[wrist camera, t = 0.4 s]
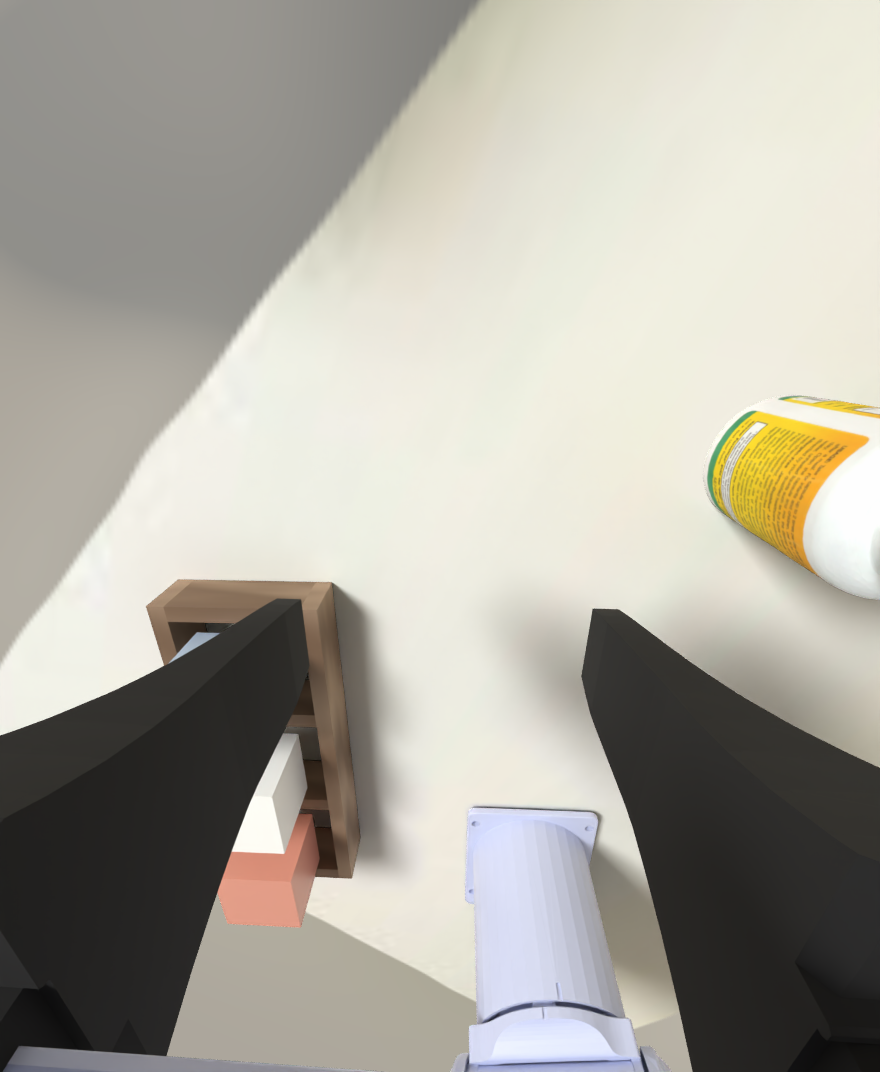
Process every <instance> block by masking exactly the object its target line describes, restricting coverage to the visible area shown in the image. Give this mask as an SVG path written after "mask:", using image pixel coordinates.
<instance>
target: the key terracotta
mask: <svg viewBox="0 0 880 1072" xmlns="http://www.w3.org/2000/svg"><path fill="white" fill-rule="evenodd" d="M319 859H320V857H319V851H318V845H317V839H316V833H315V828H314V822H313V816H312V814H298V817H297V820H296V822H295V825H294V828H293V831H292V834H291V837H290V840H289V843H288V846H287V848H286V851H285V854H275V853H252V852H231V855H230V858H229V861H228V863H227V866H226V869H225V872H224V875H223V878H222V881H221V884H220V886H219V889H218V892H217V893H218V896H219V899H220V902H221V905H222V908H223V911H224V914H225V917H226V920H227V923H228V924H243V925H263V926H283V927H284V926H285V927H301V925H302V921H303V918H304V914H305V910H306V907H307V903H308V899H309V896H310V892H311V888H312V885H313V881H314V878H315V874H316V870H317V867H318V863H319Z"/></svg>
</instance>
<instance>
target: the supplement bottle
mask: <svg viewBox="0 0 880 1072" xmlns="http://www.w3.org/2000/svg"><path fill="white" fill-rule="evenodd" d="M703 481H704V486H705V489H706V492H707V495H708V497H709V499H710V501H711V502H712V503H713V504H714V505H715V507H717V508H718V509H719V510H720V511H721V512H722V513H724V514H725V515H727V516H728V517H729V518H731V519H732V520H734V521H735V522H737V523H738V524H740V525H741V526H743V527H744V528H746V529H747V530H749V531H750V532H752V533H753V534H755V535H757V536H758V537H759V538H761V539H762V540H764V541H766V542H767V543H769V544H770V545H772V546H773V547H775V548H776V549H778V550H779V551H781V552H782V553H784V554H785V555H786V556H788V557H789V558H791V559H792V560H794V561H795V562H797V563H799V564H800V565H802V566H803V567H805V568H806V569H808V570H809V571H811V572H813V573H814V574H816V575H817V576H819V577H820V578H822V579H823V580H825V581H826V582H828V583H829V584H831V585H832V586H834V587H836V588H838V589H840V590H842V591H844V592H846V593H849V594H852V595H855V596H859V597H862V598H868V599H874V600H880V408H878V407H872V406H866V405H860V404H853V403H847V402H842V401H836V400H829V399H822V398H815V397H808V396H799V395H785V396H777V397H773V398H769V399H765V400H762V401H760V402H757V403H755V404H753V405H751V406H749V407H747V408H746V409H744V410H742V411H741V412H740V413H738V414H737V415H736V416H734V417H733V418H732V419H731V420H730V421H729V422H728V423H727V424H726V425H725V426H724V428H723V429H722V430H721V431H720V433H719V434H718V435H717V437H716V438H715V440H714V441H713V443H712V444H711V446H710V448H709V451H708V453H707V455H706V458H705V462H704V469H703Z"/></svg>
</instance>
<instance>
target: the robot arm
mask: <svg viewBox="0 0 880 1072" xmlns="http://www.w3.org/2000/svg"><path fill="white" fill-rule="evenodd" d="M309 666H310V664H309V656H308V649H307V641H306V633H305V625H304V618H303V610H302V602H301V599H281V598H277V599H275V600H273V601H271V602H269V603H268V604H266V605H264V606H263V607H261V608H259V609H258V610H256V611H255V612H253V613H251V614H250V615H248V616H247V617H245V618H243V619H242V620H240V621H239V622H237V623H236V624H234V625H232V626H231V627H229V628H228V629H226V630H224V631H223V632H221V633H220V634H218V635H216V636H215V637H213V638H212V639H210V640H208V641H207V642H205V643H203V644H201V645H200V646H198V647H196V648H195V649H193V650H191V651H189V652H188V653H186V654H184V655H182V656H181V657H179V658H177V659H176V660H174V661H172V662H170V663H169V664H167V665H165V666H163V667H161V668H159V669H157V670H155V671H153V672H152V673H150V674H148V675H146V676H144V677H142V678H140V679H138V680H135V681H133V682H131V683H129V684H127V685H125V686H123V687H121V688H119V689H117V690H115V691H112V692H110V693H108V694H106V695H103V696H101V697H99V698H96V699H94V700H91V701H89V702H87V703H84V704H82V705H79V706H77V707H75V708H72V709H70V710H67V711H65V712H63V713H60V714H58V715H55V716H53V717H50V718H48V719H45V720H43V721H40V722H37V723H34V724H32V725H29V726H26V727H23V728H21V729H18V730H15V731H12V732H10V733H7V734H4V735H1V736H0V1072H382V1071H367V1070H353V1069H338V1068H325V1067H311V1066H297V1065H283V1064H269V1063H254V1062H240V1061H226V1060H212V1059H197V1058H184V1057H183V1058H182V1057H169V1056H166V1055H167V1052H168V1048H169V1045H170V1041H171V1038H172V1035H173V1032H174V1028H175V1025H176V1022H177V1018H178V1015H179V1011H180V1008H181V1005H182V1002H183V998H184V995H185V991H186V988H187V985H188V981H189V978H190V974H191V972H192V968H193V965H194V962H195V959H196V956H197V953H198V950H199V947H200V944H201V941H202V937H203V934H204V931H205V928H206V925H207V922H208V919H209V916H210V913H211V910H212V906H213V903H214V901H215V898H216V895H217V892H218V889H219V886H220V884H221V881H222V878H223V875H224V872H225V869H226V866H227V863H228V861H229V858H230V855H231V852H232V849H233V847H234V844H235V841H236V839H237V836H238V833H239V830H240V828H241V825H242V822H243V820H244V817H245V814H246V812H247V809H248V807H249V804H250V802H251V800H252V797H253V795H254V793H255V790H256V788H257V786H258V784H259V782H260V780H261V778H262V776H263V774H264V772H265V770H266V767H267V765H268V763H269V761H270V759H271V757H272V755H273V753H274V751H275V749H276V747H277V745H278V743H279V741H280V739H281V737H282V734H283V732H284V730H285V728H286V726H287V724H288V722H289V720H290V718H291V716H292V714H293V711H294V709H295V707H296V705H297V703H298V700H299V697H300V694H301V691H302V688H303V685H304V682H305V679H306V676H307V673H308V669H309ZM582 680H583V685H584V689H585V694H586V698H587V702H588V706H589V710H590V714H591V717H592V719H593V722H594V725H595V728H596V730H597V733H598V736H599V738H600V741H601V743H602V746H603V749H604V751H605V754H606V756H607V759H608V762H609V764H610V767H611V769H612V772H613V775H614V777H615V780H616V782H617V785H618V788H619V790H620V793H621V795H622V798H623V801H624V803H625V806H626V809H627V812H628V815H629V818H630V821H631V823H632V826H633V830H634V833H635V837H636V841H637V844H638V848H639V851H640V855H641V858H642V862H643V866H644V869H645V873H646V876H647V880H648V884H649V888H650V892H651V896H652V899H653V903H654V907H655V911H656V915H657V919H658V923H659V926H660V930H661V934H662V939H663V943H664V947H665V951H666V955H667V960H668V964H669V968H670V972H671V976H672V981H673V985H674V989H675V993H676V997H677V1002H678V1006H679V1011H680V1015H681V1020H682V1024H683V1029H684V1033H685V1038H686V1042H687V1047H688V1052H689V1057H690V1061H691V1066H692V1070H693V1072H880V768H879V767H876V766H874V765H872V764H870V763H868V762H866V761H863V760H861V759H859V758H857V757H855V756H853V755H850V754H848V753H846V752H844V751H842V750H840V749H838V748H836V747H834V746H832V745H830V744H828V743H826V742H824V741H822V740H820V739H818V738H816V737H814V736H812V735H810V734H808V733H806V732H804V731H802V730H800V729H799V728H797V727H795V726H793V725H791V724H789V723H787V722H785V721H784V720H782V719H780V718H778V717H777V716H775V715H773V714H771V713H770V712H768V711H766V710H764V709H763V708H761V707H759V706H757V705H756V704H754V703H752V702H750V701H749V700H747V699H745V698H744V697H742V696H741V695H739V694H737V693H736V692H734V691H733V690H731V689H729V688H728V687H726V686H725V685H723V684H722V683H720V682H719V681H717V680H716V679H714V678H713V677H711V676H710V675H708V674H707V673H705V672H704V671H702V670H701V669H699V668H698V667H697V666H695V665H694V664H692V663H691V662H689V661H688V660H687V659H685V658H684V657H682V656H681V655H680V654H678V653H677V652H676V651H674V650H673V649H672V648H670V647H669V646H668V645H666V644H665V643H664V642H662V641H661V640H660V639H658V638H657V637H656V636H654V635H653V634H652V633H650V632H649V631H648V630H646V629H645V628H644V627H642V626H641V625H640V624H638V623H637V622H636V621H634V620H633V619H632V618H630V617H629V616H627V615H626V614H625V613H623V612H621V611H620V610H618V609H593V611H592V617H591V623H590V629H589V635H588V640H587V646H586V652H585V658H584V664H583V670H582ZM597 827H598V819H597V816H596V814H594V813H592V812H576V811H550V810H525V809H499V808H472V809H470V810H469V811H468V825H467V855H466V885H465V900H466V901H467V902H468V903H470V904H474V917H475V958H476V1000H477V1025H470V1026H469V1053H461V1054H459V1055H458V1056H457V1057H456V1059H455V1061H454V1065H453V1067H452V1068H451V1070H450V1072H672V1071H671V1069H670V1068H669V1066H668V1065H667V1064H666V1063H665V1062H664V1061H663V1060H662V1059H661V1058H660V1057H659V1056H658V1055H657V1053H656V1051H655V1050H654V1049H653V1048H652V1047H651V1046H640V1054H639V1050H638V1046H637V1043H636V1038H635V1034H634V1030H633V1026H632V1022H631V1020H630V1019H629V1018H626V1017H625V1013H624V1009H623V1005H622V1001H621V997H620V992H619V988H618V984H617V980H616V976H615V972H614V968H613V964H612V960H611V956H610V952H609V948H608V944H607V939H606V935H605V931H604V927H603V923H602V919H601V915H600V911H599V907H598V903H597V899H596V895H595V891H594V886H593V882H592V878H591V874H590V870H589V865H590V860H591V856H592V851H593V846H594V841H595V836H596V832H597ZM640 1057H641V1058H640Z"/></svg>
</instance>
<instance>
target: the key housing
mask: <svg viewBox="0 0 880 1072" xmlns="http://www.w3.org/2000/svg"><path fill="white" fill-rule="evenodd" d="M277 598H281V599H301V602H302V610H303V618H304V625H305V633H306V641H307V649H308V656H309V664H310V666H309V669H308V673H309V680H305V682H304V685H303V688H302V691H301V694H300V697H299V700H298V703H297V705H296V707H295V709H294V711H293V714H292V716H291V718H290V720H289V722H288V724H287V726H286V727H316V728H317V733H318V740H319V747H320V753H321V760H322V761H308V760H303V764H304V770H305V776H306V781H307V787H308V788H307V791H306V794H305V796H304V799H303V802H302V805H301V808H300V809H315V810H329V814H330V820H331V827H332V828H315V827H314V828H315V833H316V839H317V845H318V851H319V857H320V859H319V863H318V867H317V870H316V874H315V877H331V878H352V876H353V871H354V866H355V861H356V856H357V851H358V846H359V841H360V830H359V821H358V812H357V803H356V794H355V785H354V776H353V767H352V758H351V749H350V741H349V732H348V723H347V714H346V705H345V696H344V687H343V678H342V669H341V660H340V651H339V642H338V634H337V625H336V616H335V607H334V598H333V589H332V583H331V582H279V581H227V580H177V581H176V582H175V583H174V584H172V585H171V586H170V587H169V588H168V589H166V590H165V591H164V592H163V593H162V594H160V595H159V596H158V597H157V598H156V599H154V600H153V601H152V602H151V603H150V604H148V605H147V606H146V608H147V611H148V614H149V618H150V621H151V624H152V627H153V631H154V634H155V637H156V640H157V644H158V647H159V650H160V653H161V657H162V660H163V663H164V666H165V665H167V664H168V663H169V662H170V661H171V660H172V659H173V658H174V657H175V656H176V655H177V654H178V652H179V651H180V650H181V649H182V648H183V647H184V646H185V645H186V644H187V643H188V642H189V640H190V639H191V638H192V637H193V636H194V635H195V634H196V633H197V632H199V633H207V630H206V626H205V623H237V622H239V621H240V620H242V619H243V618H245V617H247V616H248V615H250V614H251V613H253V612H255V611H256V610H258V609H259V608H261V607H263V606H264V605H266V604H268V603H269V602H271V601H273V600H275V599H277Z"/></svg>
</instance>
